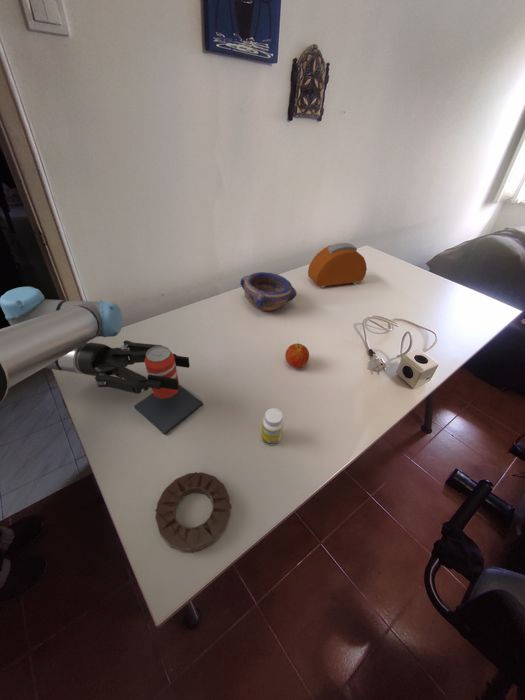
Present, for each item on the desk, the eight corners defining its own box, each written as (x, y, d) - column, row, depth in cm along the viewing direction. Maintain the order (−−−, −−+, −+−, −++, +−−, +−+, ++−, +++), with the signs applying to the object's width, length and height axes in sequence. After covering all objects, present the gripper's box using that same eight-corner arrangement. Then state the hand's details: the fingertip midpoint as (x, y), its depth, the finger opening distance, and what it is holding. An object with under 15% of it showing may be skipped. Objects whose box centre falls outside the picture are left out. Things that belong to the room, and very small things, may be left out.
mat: (165, 435, 72) (164, 432, 72) (134, 408, 78) (133, 405, 77) (203, 405, 80) (203, 402, 79) (173, 382, 85) (172, 379, 85)
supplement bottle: (268, 425, 76) (271, 403, 71) (284, 435, 74) (288, 413, 69) (257, 438, 73) (258, 416, 68) (273, 449, 71) (276, 427, 66)
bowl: (298, 313, 115) (302, 289, 108) (253, 322, 109) (254, 297, 102) (278, 289, 127) (280, 267, 121) (236, 296, 121) (236, 273, 115)
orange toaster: (352, 274, 141) (362, 238, 131) (363, 284, 135) (374, 246, 124) (305, 280, 135) (312, 242, 124) (314, 290, 129) (322, 251, 118)
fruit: (309, 359, 95) (313, 339, 90) (304, 374, 90) (308, 354, 85) (287, 354, 97) (290, 334, 92) (281, 368, 92) (284, 348, 87)
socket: (191, 570, 53) (189, 567, 52) (142, 515, 59) (140, 511, 58) (244, 507, 61) (244, 502, 60) (197, 464, 67) (196, 460, 66)
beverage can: (163, 378, 78) (155, 341, 70) (184, 386, 76) (179, 349, 68) (147, 394, 74) (136, 357, 66) (169, 403, 72) (161, 366, 64)
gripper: (113, 344, 82) (198, 357, 80) (66, 400, 67) (169, 417, 65) (105, 321, 77) (195, 334, 75) (53, 376, 62) (163, 394, 60)
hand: (183, 373), depth 70 cm, fingers closed on beverage can, 6 cm apart
